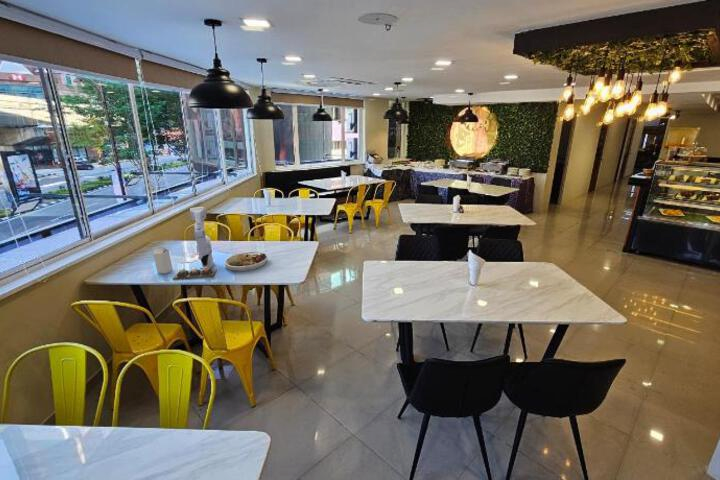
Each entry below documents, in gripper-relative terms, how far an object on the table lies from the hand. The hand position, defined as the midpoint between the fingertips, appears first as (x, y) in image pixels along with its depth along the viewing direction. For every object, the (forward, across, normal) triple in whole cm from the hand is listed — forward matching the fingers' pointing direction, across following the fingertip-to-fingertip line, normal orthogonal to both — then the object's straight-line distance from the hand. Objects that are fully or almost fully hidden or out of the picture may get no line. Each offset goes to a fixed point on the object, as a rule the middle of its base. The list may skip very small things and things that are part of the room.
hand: (205, 265), depth 243 cm
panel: (+7, -1, -8) cm, 11 cm away
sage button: (+4, 0, -16) cm, 17 cm away
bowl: (+8, -15, +24) cm, 29 cm away
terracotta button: (+4, 0, 0) cm, 4 cm away
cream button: (+4, 0, -8) cm, 9 cm away
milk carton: (+7, -12, -33) cm, 36 cm away
